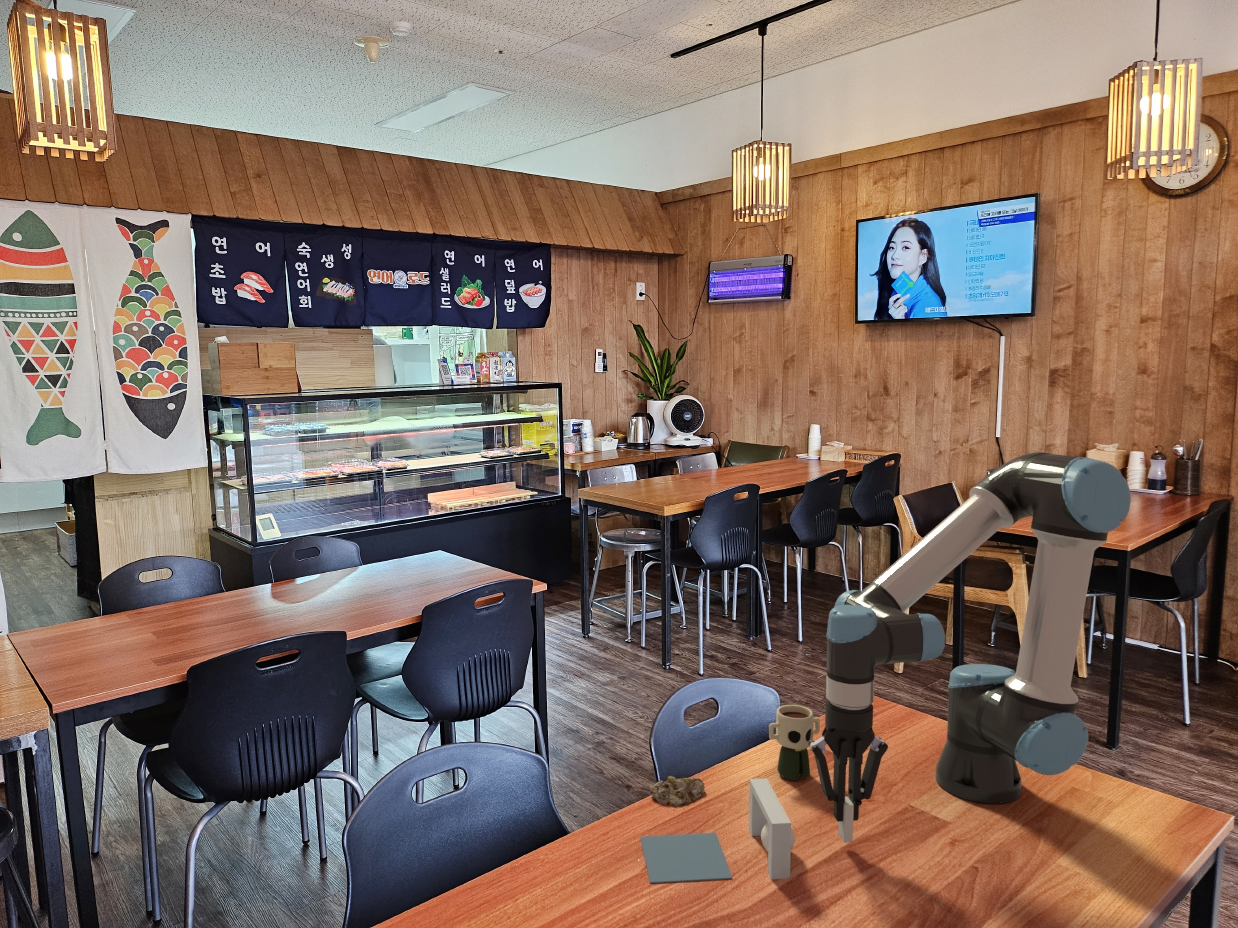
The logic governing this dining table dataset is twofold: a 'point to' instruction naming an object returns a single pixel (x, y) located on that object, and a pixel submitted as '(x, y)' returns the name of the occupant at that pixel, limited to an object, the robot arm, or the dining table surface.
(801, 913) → the dining table surface
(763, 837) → the ball
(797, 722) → the character mug
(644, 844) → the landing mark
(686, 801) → the mineral rock
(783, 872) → the bridge
